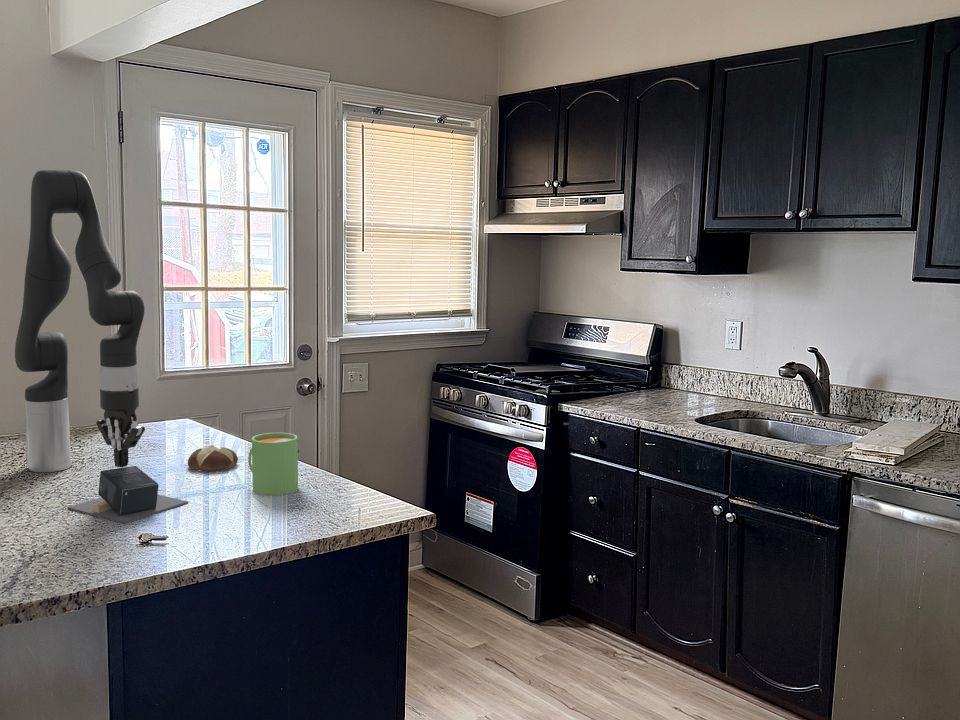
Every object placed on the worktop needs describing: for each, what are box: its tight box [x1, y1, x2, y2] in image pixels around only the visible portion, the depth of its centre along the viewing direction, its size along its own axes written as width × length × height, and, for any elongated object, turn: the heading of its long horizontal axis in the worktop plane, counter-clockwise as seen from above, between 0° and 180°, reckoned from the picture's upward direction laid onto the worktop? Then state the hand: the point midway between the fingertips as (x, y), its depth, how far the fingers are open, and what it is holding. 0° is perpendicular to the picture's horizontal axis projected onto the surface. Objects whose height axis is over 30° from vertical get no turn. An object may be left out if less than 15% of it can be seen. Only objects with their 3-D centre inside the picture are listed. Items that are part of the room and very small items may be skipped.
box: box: [98, 465, 160, 515], centre depth 180 cm, size 8×6×11 cm
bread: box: [187, 444, 239, 473], centre depth 215 cm, size 11×11×5 cm
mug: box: [247, 432, 300, 497], centre depth 197 cm, size 13×10×12 cm
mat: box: [66, 494, 189, 525], centre depth 183 cm, size 18×16×2 cm
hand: (121, 466), depth 184 cm, fingers closed
